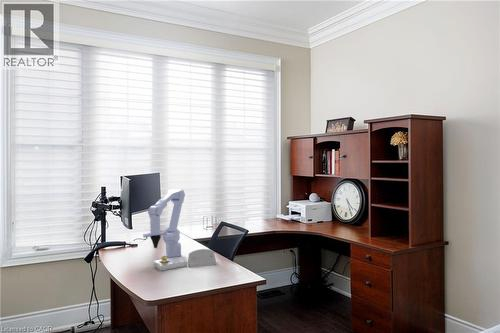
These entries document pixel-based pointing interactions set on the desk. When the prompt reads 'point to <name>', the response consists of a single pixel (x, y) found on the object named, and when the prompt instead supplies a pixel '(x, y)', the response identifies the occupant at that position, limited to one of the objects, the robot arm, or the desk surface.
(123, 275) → the desk surface
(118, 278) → the desk surface
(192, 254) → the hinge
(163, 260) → the bushing
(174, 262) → the jig
